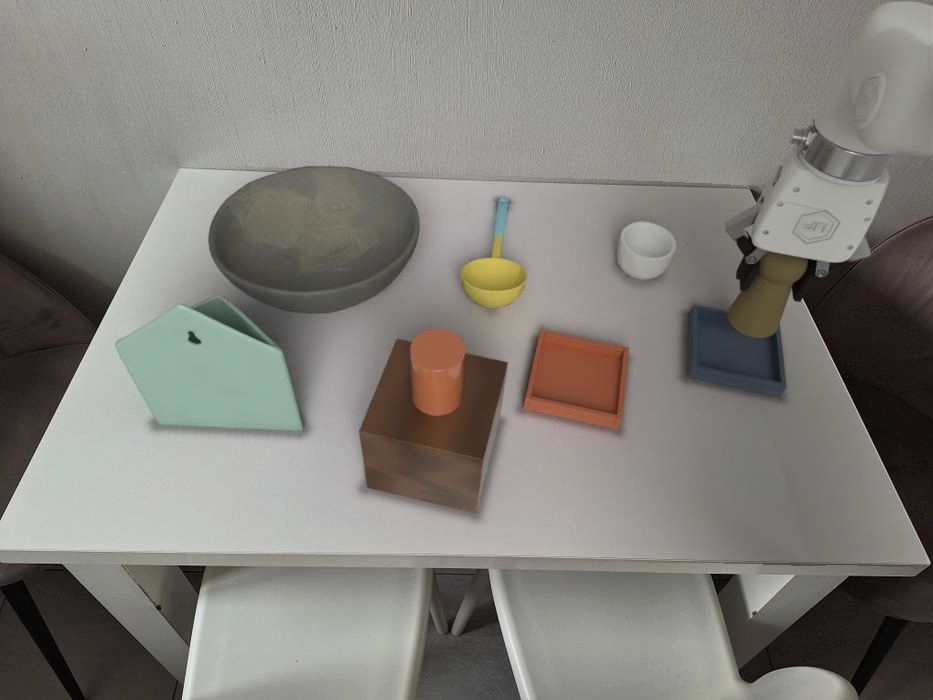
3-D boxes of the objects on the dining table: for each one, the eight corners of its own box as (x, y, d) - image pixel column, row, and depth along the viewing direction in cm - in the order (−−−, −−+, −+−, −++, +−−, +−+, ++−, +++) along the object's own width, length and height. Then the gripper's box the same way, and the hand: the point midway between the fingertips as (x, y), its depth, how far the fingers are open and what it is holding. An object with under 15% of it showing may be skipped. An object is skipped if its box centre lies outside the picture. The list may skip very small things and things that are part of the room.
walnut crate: (499, 421, 76) (508, 361, 67) (476, 513, 68) (483, 460, 60) (400, 399, 77) (396, 338, 69) (366, 487, 70) (358, 431, 61)
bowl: (204, 348, 81) (181, 291, 73) (247, 213, 98) (231, 155, 90) (417, 352, 82) (415, 296, 74) (422, 218, 99) (422, 161, 91)
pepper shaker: (784, 314, 80) (822, 244, 72) (770, 345, 77) (809, 276, 68) (735, 295, 82) (767, 225, 74) (720, 324, 79) (752, 255, 70)
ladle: (455, 318, 85) (456, 279, 81) (475, 227, 106) (476, 193, 102) (523, 324, 84) (527, 285, 81) (529, 231, 105) (532, 197, 102)
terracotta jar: (467, 380, 66) (471, 334, 60) (455, 420, 62) (458, 376, 57) (419, 370, 66) (418, 323, 61) (405, 409, 63) (403, 364, 58)
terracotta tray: (625, 358, 83) (629, 347, 81) (617, 430, 76) (622, 419, 74) (538, 340, 84) (540, 329, 83) (523, 409, 77) (525, 398, 75)
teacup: (670, 289, 91) (681, 260, 87) (616, 286, 91) (625, 257, 87) (657, 242, 98) (667, 213, 94) (606, 239, 98) (614, 210, 93)
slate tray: (773, 331, 87) (779, 320, 85) (779, 397, 80) (786, 387, 78) (688, 314, 88) (693, 304, 87) (687, 378, 81) (692, 367, 80)
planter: (315, 376, 79) (288, 252, 64) (303, 431, 74) (270, 311, 59) (178, 369, 78) (119, 243, 63) (157, 425, 73) (86, 302, 58)
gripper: (755, 156, 60) (693, 296, 74) (952, 189, 58) (850, 326, 72) (751, 114, 64) (693, 253, 78) (933, 143, 63) (841, 280, 76)
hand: (769, 287), depth 75 cm, fingers closed on pepper shaker, 5 cm apart
